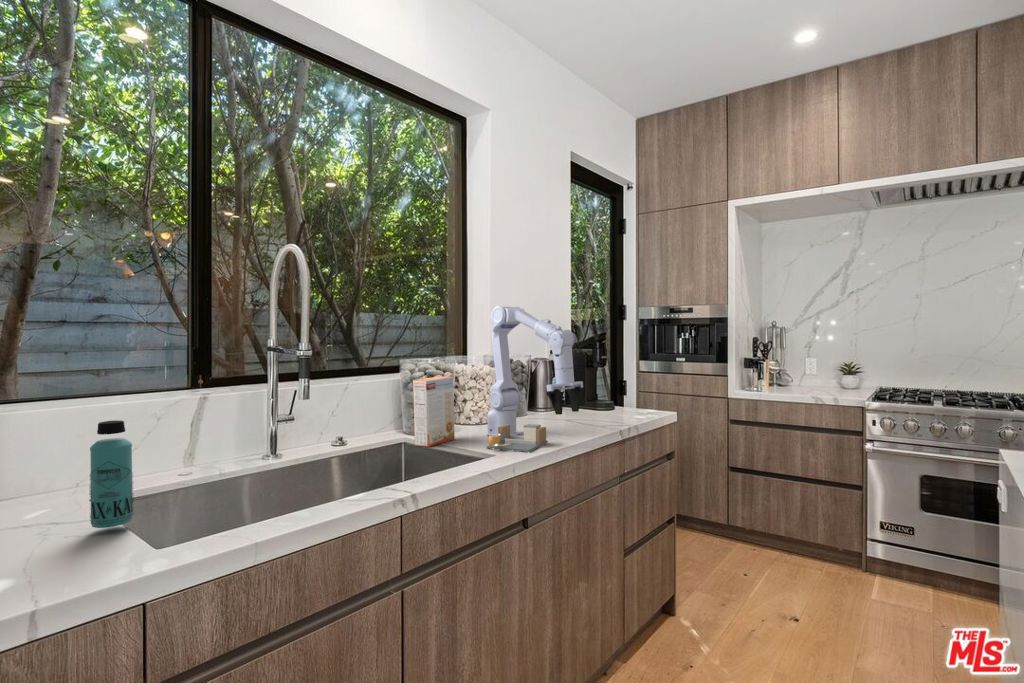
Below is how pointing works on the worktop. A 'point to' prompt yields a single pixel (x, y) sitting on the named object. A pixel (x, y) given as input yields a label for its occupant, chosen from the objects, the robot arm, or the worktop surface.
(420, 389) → the cracker box
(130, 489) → the beverage bottle
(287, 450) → the worktop surface
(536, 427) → the beige block
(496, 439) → the gauge lever
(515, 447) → the rail board
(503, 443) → the gauge dial
